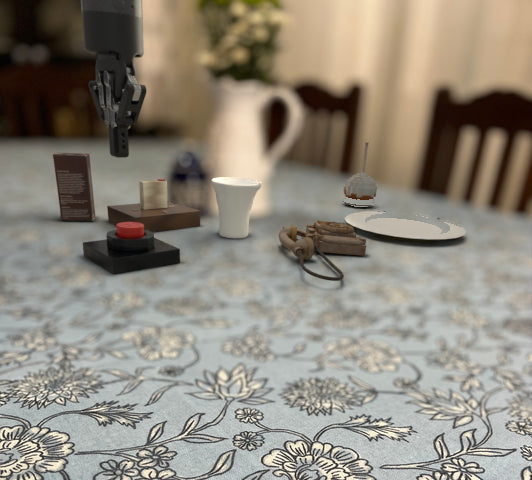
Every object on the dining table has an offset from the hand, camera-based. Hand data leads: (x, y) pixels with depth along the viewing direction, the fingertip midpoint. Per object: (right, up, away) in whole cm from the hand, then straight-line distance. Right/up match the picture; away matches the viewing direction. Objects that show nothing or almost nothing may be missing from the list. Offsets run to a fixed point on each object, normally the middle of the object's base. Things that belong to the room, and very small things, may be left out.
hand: (119, 156), depth 74 cm
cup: (+15, -6, +24) cm, 29 cm away
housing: (0, -14, +6) cm, 15 cm away
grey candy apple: (+44, +10, +58) cm, 74 cm away
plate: (+50, -2, +35) cm, 61 cm away
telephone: (+31, -11, +15) cm, 36 cm away
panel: (-1, -3, +27) cm, 27 cm away
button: (+1, -10, +4) cm, 11 cm away
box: (-16, -2, +27) cm, 32 cm away
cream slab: (-1, 0, +26) cm, 26 cm away
